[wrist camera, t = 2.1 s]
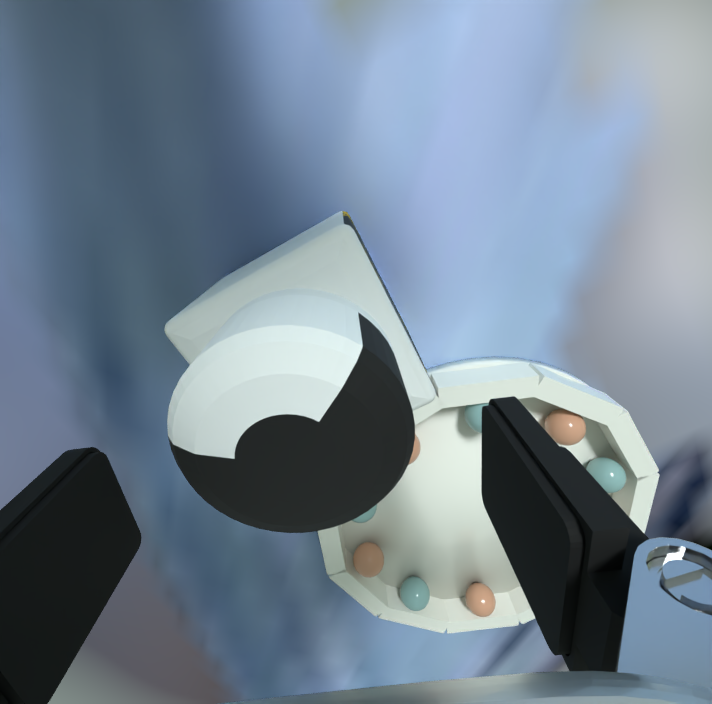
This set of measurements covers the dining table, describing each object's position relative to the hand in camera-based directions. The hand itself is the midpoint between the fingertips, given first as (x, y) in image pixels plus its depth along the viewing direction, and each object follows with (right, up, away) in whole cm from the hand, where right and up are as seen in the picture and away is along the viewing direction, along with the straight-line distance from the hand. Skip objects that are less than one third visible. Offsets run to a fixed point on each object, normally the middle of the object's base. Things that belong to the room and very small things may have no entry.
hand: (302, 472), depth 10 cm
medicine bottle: (-1, +5, +10) cm, 12 cm away
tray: (+9, -6, +16) cm, 19 cm away
